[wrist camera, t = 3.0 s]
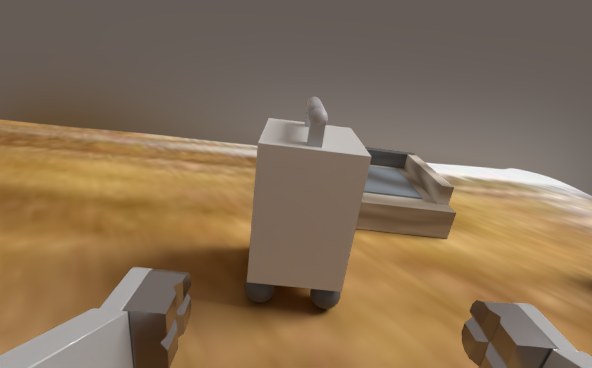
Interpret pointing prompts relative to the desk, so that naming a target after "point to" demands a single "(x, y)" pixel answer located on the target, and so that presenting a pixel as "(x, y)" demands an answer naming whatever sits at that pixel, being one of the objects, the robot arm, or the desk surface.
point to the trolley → (305, 206)
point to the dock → (405, 196)
